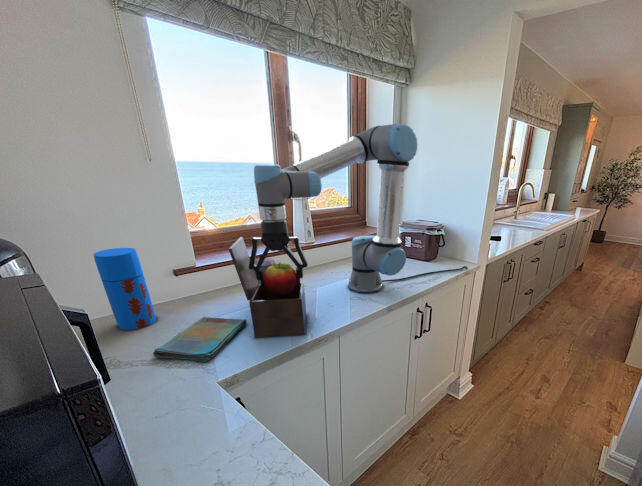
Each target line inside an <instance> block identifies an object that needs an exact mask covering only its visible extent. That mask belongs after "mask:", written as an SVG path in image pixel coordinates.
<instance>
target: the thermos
mask: <svg viewBox="0 0 642 486" xmlns="http://www.w3.org/2000/svg"><path fill="white" fill-rule="evenodd" d="M93 258H94V259H93V260H94V263H95V266H96V268H97V271H98V274H99V277H100V280H101V283H102V285H103V289H104V291H105V295H106V296H107V299H108V300H107V301H108V302H109V306H110V308H111V311H112V314H113V317H114V320H115V321H116V324H117V326H118V328H119V329H121V330H123V331H133V330H138V329H142V328H145V327H148V326H150V325H152V324H153V323H155V322H156V321H157V317H156V313H155V309H154V305H153V302H152V299H151V295H150V292H149V288H148V284H147V281H146V278H145V275H144V271H143V268H142V265H141V261H140V258H139V254H138V253H137V251H136V248H133V247H114V248H108V249H107V248H106V249H102V250H99V251H96V252H94V253H93Z"/></svg>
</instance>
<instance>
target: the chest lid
mask: <svg viewBox="0 0 642 486" xmlns="http://www.w3.org/2000/svg"><path fill="white" fill-rule="evenodd" d="M228 252H229V254H230V258H231V260H232V263H233V265H234V268H235V270H236V273H237V276H238V279H239V281H240V284H241V287H242V290H243V292H244V295H245V297H246V300H247V301H250V299H251V297H252V295H253V293H254V291H255V289H256V287H257V285H258V281H257V278H256V275H255V272H254V270H253V269H249V262H250V257H251V256H250V253H249V252H248V249H247V245H246V243H245V240H244V237H243V236H240V237H239V238H238V239H237V240H236V241H235V242H233V244H231V246H230V247H229V248H228Z"/></svg>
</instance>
